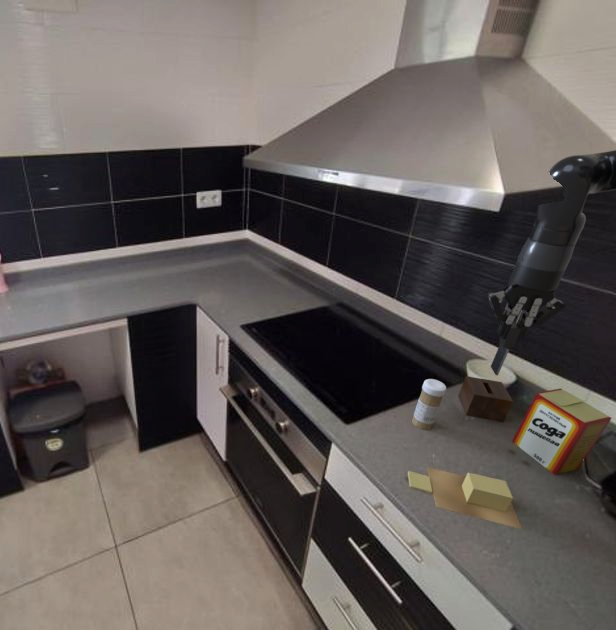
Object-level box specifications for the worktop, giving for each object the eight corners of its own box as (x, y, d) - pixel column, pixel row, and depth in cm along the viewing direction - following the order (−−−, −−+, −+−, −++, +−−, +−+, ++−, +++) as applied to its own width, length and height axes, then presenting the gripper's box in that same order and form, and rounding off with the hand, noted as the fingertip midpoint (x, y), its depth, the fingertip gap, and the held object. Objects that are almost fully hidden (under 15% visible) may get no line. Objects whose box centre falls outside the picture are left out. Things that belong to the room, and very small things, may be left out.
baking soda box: (575, 473, 81) (612, 416, 74) (551, 479, 80) (587, 422, 73) (531, 441, 90) (561, 387, 82) (509, 446, 88) (537, 391, 81)
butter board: (501, 489, 78) (503, 485, 78) (520, 533, 70) (522, 529, 69) (425, 470, 82) (427, 466, 82) (434, 510, 74) (436, 506, 73)
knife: (495, 367, 89) (515, 322, 83) (501, 376, 86) (522, 330, 80) (486, 366, 89) (506, 321, 84) (492, 374, 86) (512, 328, 81)
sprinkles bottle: (429, 424, 95) (445, 381, 89) (431, 437, 91) (448, 392, 85) (409, 419, 96) (423, 376, 90) (410, 431, 93) (425, 387, 87)
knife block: (490, 406, 101) (501, 381, 97) (501, 426, 94) (513, 401, 90) (456, 399, 103) (465, 375, 99) (463, 419, 96) (474, 394, 93)
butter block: (498, 494, 76) (505, 481, 74) (505, 512, 72) (513, 498, 70) (461, 485, 78) (467, 472, 76) (466, 502, 74) (473, 488, 72)
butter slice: (429, 476, 79) (408, 470, 80) (432, 492, 76) (410, 485, 77) (427, 481, 80) (406, 476, 81) (430, 497, 77) (408, 491, 78)
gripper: (507, 265, 74) (477, 341, 82) (595, 273, 70) (554, 352, 78) (494, 254, 80) (467, 325, 88) (573, 260, 77) (538, 334, 85)
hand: (508, 337), depth 83 cm, fingers closed on knife, 2 cm apart
